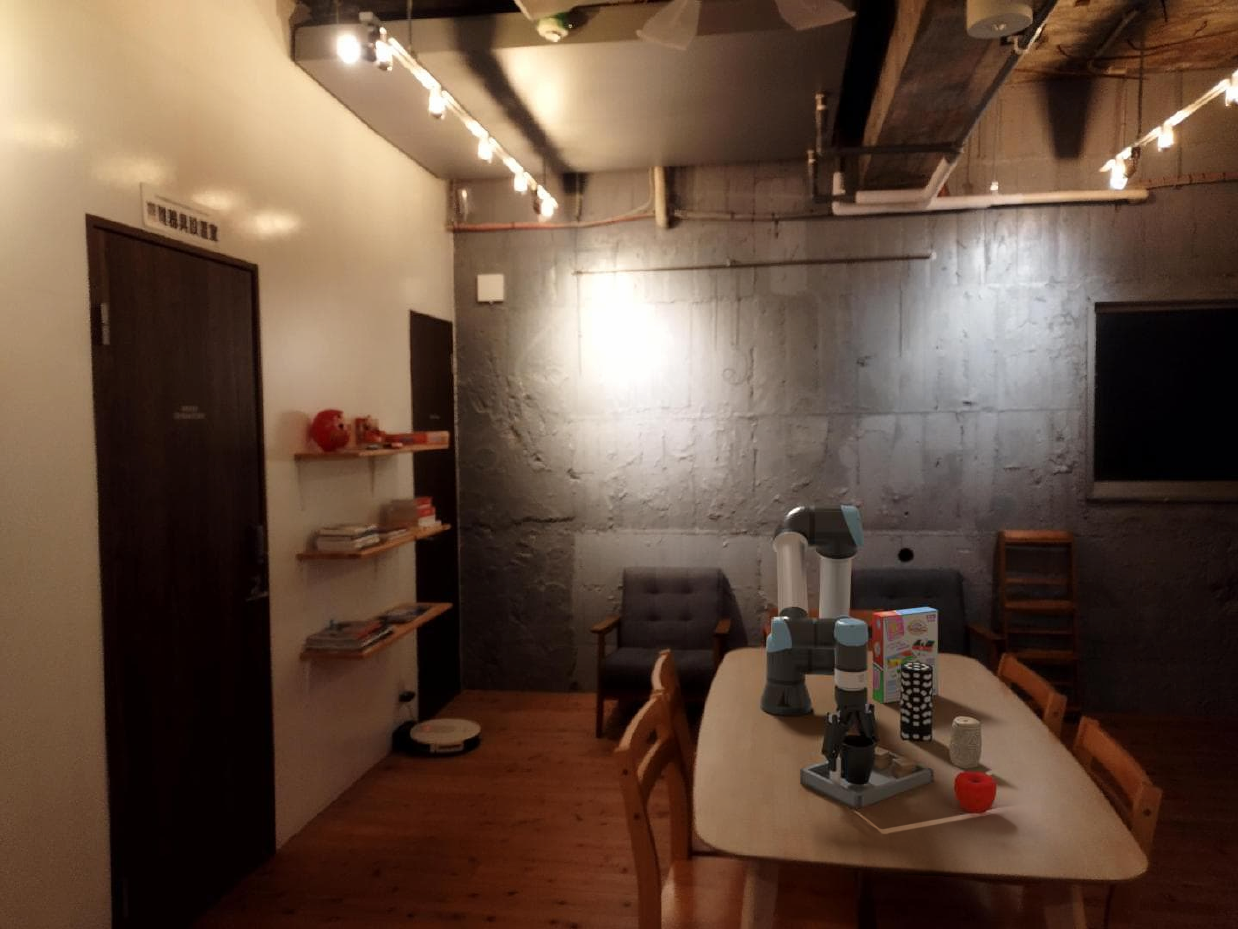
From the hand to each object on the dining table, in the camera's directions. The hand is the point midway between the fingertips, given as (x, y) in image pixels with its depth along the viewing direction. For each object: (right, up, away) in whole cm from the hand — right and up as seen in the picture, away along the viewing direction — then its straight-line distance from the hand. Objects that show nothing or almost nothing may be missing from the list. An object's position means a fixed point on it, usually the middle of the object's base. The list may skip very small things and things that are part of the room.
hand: (850, 778), depth 204 cm
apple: (+25, -3, -12) cm, 27 cm away
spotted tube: (+26, -1, +31) cm, 40 cm away
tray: (+5, -2, +3) cm, 6 cm away
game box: (+34, +2, +64) cm, 73 cm away
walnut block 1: (+10, -1, +11) cm, 15 cm away
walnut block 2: (+14, -1, +4) cm, 15 cm away
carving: (+32, -2, +12) cm, 34 cm away
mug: (-1, 0, 0) cm, 1 cm away
